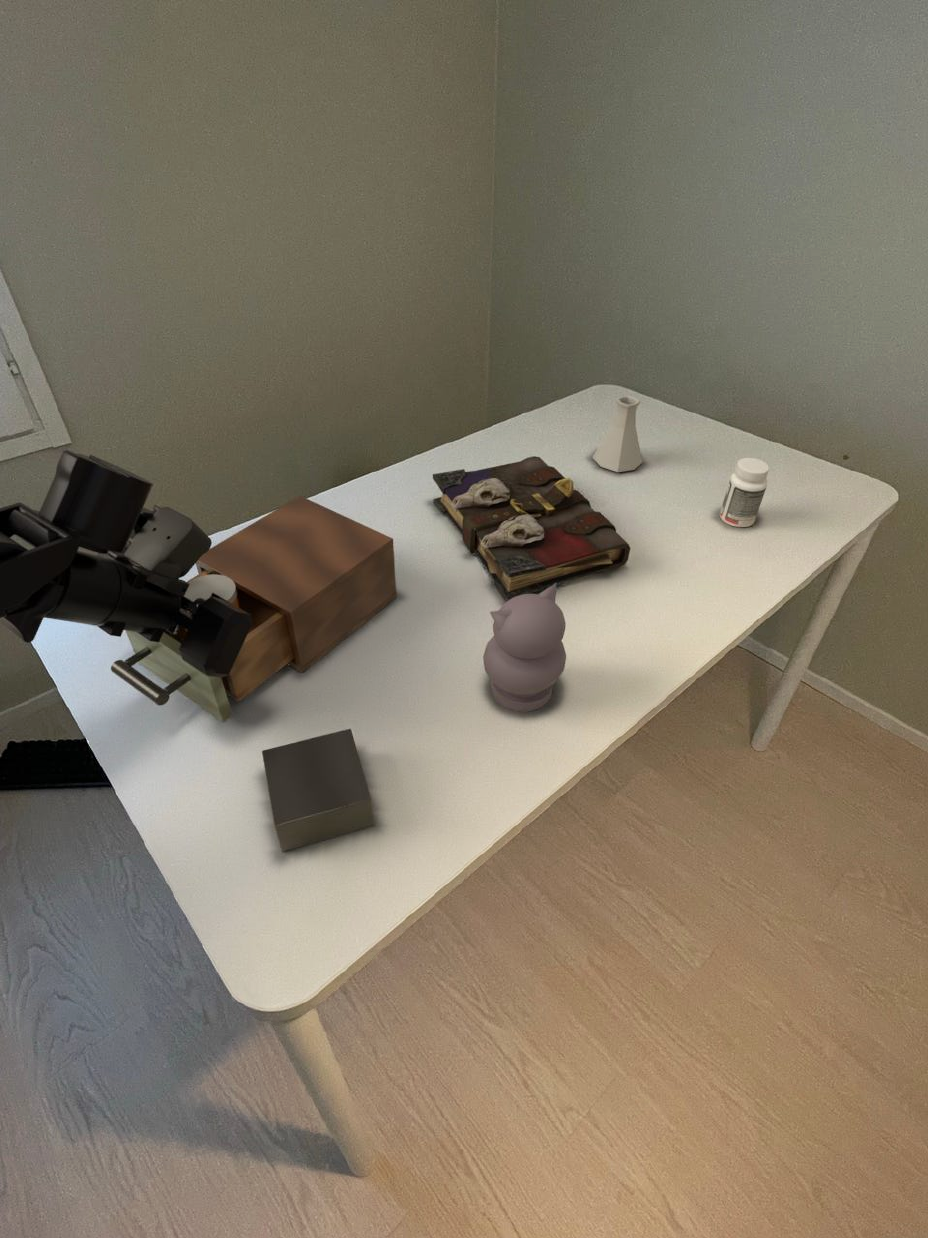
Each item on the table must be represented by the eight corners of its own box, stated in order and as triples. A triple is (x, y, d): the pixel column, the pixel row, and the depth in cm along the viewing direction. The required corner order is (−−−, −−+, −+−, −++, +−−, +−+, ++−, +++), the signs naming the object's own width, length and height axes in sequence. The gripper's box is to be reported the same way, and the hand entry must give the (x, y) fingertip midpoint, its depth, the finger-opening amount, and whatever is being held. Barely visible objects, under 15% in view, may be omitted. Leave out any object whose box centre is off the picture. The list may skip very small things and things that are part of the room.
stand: (282, 852, 59) (274, 826, 57) (269, 777, 65) (261, 750, 62) (374, 825, 61) (371, 799, 59) (354, 754, 67) (350, 728, 64)
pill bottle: (761, 524, 97) (780, 471, 91) (732, 530, 96) (750, 476, 90) (740, 506, 100) (757, 453, 95) (712, 512, 99) (728, 459, 93)
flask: (616, 445, 113) (627, 385, 106) (650, 464, 109) (664, 402, 102) (583, 458, 110) (593, 397, 103) (617, 478, 105) (629, 415, 99)
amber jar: (226, 673, 72) (208, 615, 66) (188, 655, 73) (168, 597, 68) (260, 642, 75) (246, 584, 70) (223, 626, 77) (207, 568, 71)
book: (631, 573, 88) (642, 525, 83) (502, 607, 83) (505, 558, 78) (536, 471, 106) (541, 426, 102) (425, 494, 101) (424, 448, 96)
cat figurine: (510, 731, 69) (519, 644, 61) (466, 682, 74) (469, 595, 66) (577, 696, 73) (593, 609, 65) (530, 651, 78) (540, 565, 70)
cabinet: (302, 673, 75) (290, 612, 69) (211, 617, 81) (193, 558, 75) (396, 597, 84) (393, 538, 78) (309, 552, 90) (300, 495, 85)
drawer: (190, 749, 66) (171, 701, 61) (105, 685, 72) (82, 637, 67) (328, 640, 77) (321, 592, 73) (245, 592, 83) (233, 546, 78)
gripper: (210, 543, 54) (327, 582, 68) (71, 467, 62) (201, 516, 76) (151, 673, 55) (279, 685, 69) (20, 581, 63) (159, 609, 77)
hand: (228, 618), depth 73 cm, fingers closed on amber jar, 5 cm apart
